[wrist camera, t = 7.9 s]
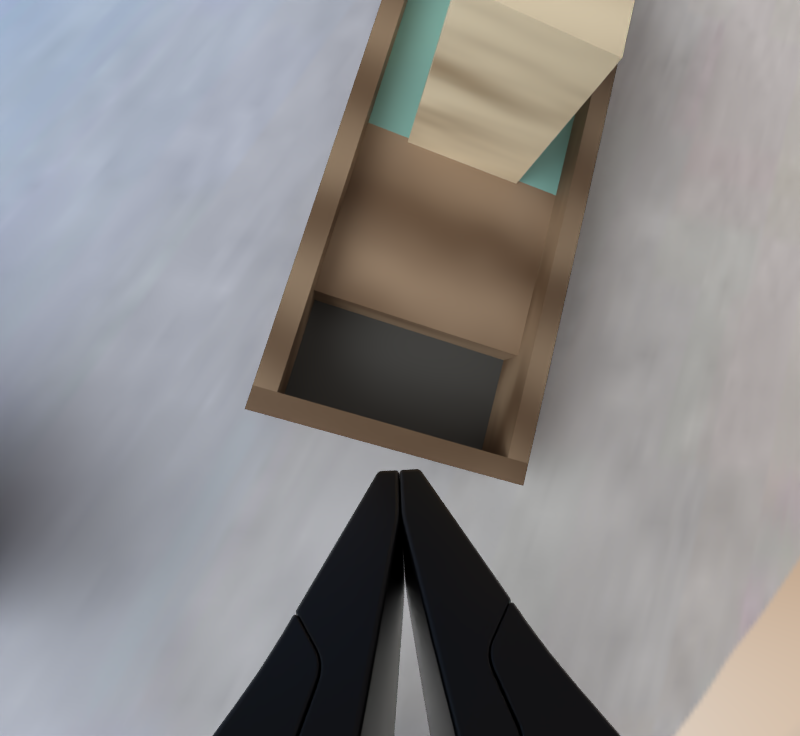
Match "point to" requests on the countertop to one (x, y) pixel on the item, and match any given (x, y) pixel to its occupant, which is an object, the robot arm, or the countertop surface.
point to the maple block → (515, 77)
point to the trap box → (427, 275)
